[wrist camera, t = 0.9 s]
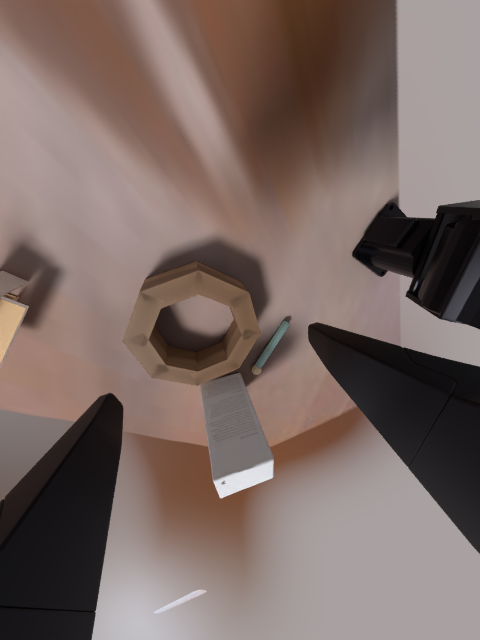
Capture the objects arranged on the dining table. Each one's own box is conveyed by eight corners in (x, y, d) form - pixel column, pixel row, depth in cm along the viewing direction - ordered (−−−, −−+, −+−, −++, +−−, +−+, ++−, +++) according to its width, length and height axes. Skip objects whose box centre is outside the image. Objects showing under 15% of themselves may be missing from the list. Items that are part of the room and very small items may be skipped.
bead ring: (265, 293, 24) (278, 305, 21) (220, 370, 28) (225, 390, 25) (157, 243, 18) (153, 250, 15) (120, 349, 22) (112, 371, 19)
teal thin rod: (281, 319, 26) (286, 324, 25) (289, 322, 27) (294, 327, 25) (248, 369, 29) (251, 376, 28) (256, 371, 30) (259, 377, 28)
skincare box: (204, 401, 30) (218, 500, 20) (199, 382, 28) (211, 482, 18) (243, 390, 31) (274, 479, 21) (241, 371, 29) (274, 459, 19)
